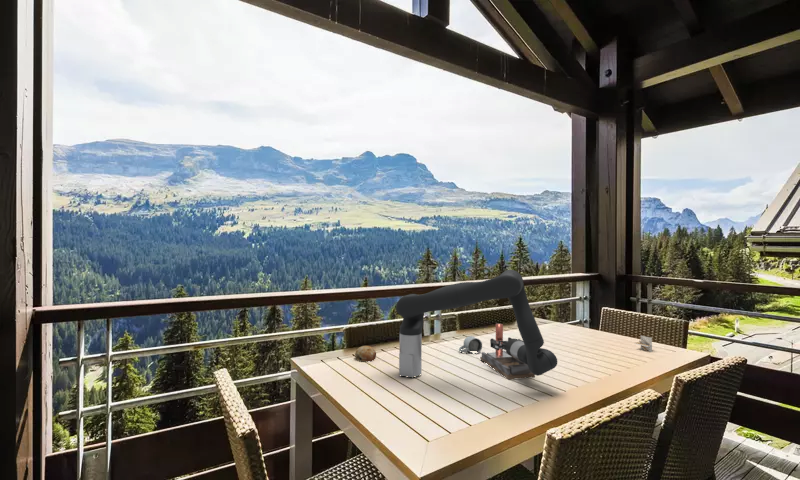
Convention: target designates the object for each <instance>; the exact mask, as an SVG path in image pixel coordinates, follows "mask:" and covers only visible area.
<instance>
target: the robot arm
mask: <svg viewBox="0 0 800 480" xmlns="http://www.w3.org/2000/svg"><path fill="white" fill-rule="evenodd" d="M500 299H508V300H509V302H510V305H511V307H512V310H513V314H514V317H515V321H516V326H517V328H518V332H519V335H520V336H521V338H522V339H520V338H518V339H517V338H512V337H508V338H507V340H504V339H503V340H499V341H496V339H494V338H490V340H489V341H490V348H492V349H494V350H495V351H496V350H499V349H503V351H506V352H507V354H508V355H510V356H512V357H513V358H515V359H517V360H519V361H521V362H523V363H525V364H527V365H528V367H529V369H530V371H531V372H532V373H533V374H534V375H535V376H542V375H543V374H546V373H547V372H549V371H551V370H553V369H555V368H556V367H557V365H558V358H557V356H556V355H555V353H554V352H553V351H552V350H549V349H547V348H542V347H543V346H544V344H545V341H544V338H543V334H542V333H541V330H540V328H539V326H538V324H537V321H536V318H535V317H534V314H533V311H532V309H531V306H530V304H529V301H528V297H527V293H526V289H525V285H524V279H523V277H522V274H520V272H519V271H517V270H514V269H507V270H504V271H503V272H502V273H500V274H499V275H497V276H495V277H493V278H489V279H486V280H482V281H465V282H457V283H453V284H449V285H446V286H443V287H439V288H437V289H434V290H431V291H429V292H427V293H423V294H417V293H409V294H407V295H403V296H402V297H400V298H399V299H398V300H397V302H396V305H395V310H396V312H397V314H398V315H399V316H401V317H402V322H401V324H400V326H399V354H398V356H399V359H398V362H399V363H398V376H399V375H401V376H408V377H414V376H418V375H420V374H421V375H422V370H423V369H422V362H423V360H422V357H423V356H422V354H423V353H422V350H423V349H422V347H423V346H422V343H423V342H422V338H423V337H422V335H423V334H422V330H423V326H424V315H425V314H426V313H429V312H438V311H446V310H452V309H457V308H462V307H466V306H471V305H474V304H478V303H482V302H485V301H491V300H500ZM496 342H497V343H496ZM501 342H503V343H502V344H501ZM401 376H400V377H401Z"/></svg>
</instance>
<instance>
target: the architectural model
mask: <svg viewBox="0 0 800 480" xmlns="http://www.w3.org/2000/svg"><path fill="white" fill-rule="evenodd" d="M652 339H653V338H652V337H649V336H645V335H640V339H639V341H638V342H634V344H635V345H638V346H640V350H643V351H645V352H649V353H652V352H653V342H652V341H653V340H652Z"/></svg>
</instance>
